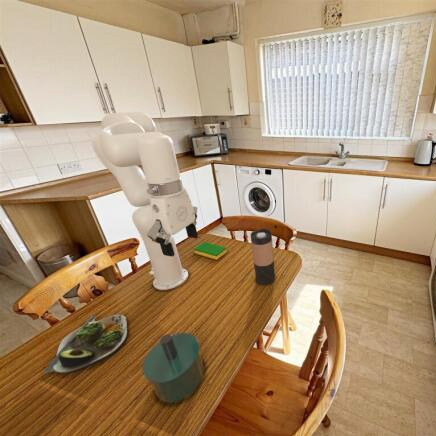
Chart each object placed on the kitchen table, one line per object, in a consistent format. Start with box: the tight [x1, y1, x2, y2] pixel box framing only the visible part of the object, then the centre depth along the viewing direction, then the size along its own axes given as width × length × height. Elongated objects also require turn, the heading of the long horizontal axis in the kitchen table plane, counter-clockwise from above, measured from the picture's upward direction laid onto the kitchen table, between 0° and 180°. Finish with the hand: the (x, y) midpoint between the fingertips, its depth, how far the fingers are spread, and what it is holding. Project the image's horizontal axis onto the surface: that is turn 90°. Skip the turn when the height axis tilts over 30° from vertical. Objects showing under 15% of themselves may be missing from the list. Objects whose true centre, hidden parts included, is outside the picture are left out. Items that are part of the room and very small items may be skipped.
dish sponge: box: [193, 241, 228, 261], centre depth 111 cm, size 7×14×2 cm, turn 64°
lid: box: [142, 332, 200, 383], centre depth 54 cm, size 12×12×7 cm
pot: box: [149, 352, 205, 404], centre depth 57 cm, size 11×11×8 cm
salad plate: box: [43, 314, 129, 375], centre depth 69 cm, size 19×18×5 cm
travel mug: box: [250, 228, 276, 285], centre depth 89 cm, size 8×8×20 cm
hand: (181, 245), depth 67 cm, fingers open, 9 cm apart
